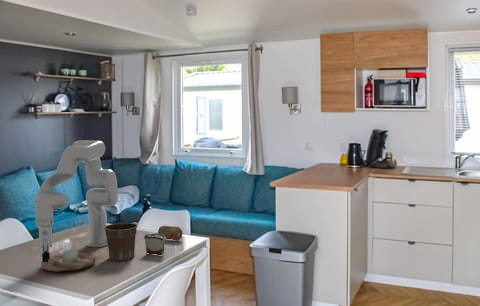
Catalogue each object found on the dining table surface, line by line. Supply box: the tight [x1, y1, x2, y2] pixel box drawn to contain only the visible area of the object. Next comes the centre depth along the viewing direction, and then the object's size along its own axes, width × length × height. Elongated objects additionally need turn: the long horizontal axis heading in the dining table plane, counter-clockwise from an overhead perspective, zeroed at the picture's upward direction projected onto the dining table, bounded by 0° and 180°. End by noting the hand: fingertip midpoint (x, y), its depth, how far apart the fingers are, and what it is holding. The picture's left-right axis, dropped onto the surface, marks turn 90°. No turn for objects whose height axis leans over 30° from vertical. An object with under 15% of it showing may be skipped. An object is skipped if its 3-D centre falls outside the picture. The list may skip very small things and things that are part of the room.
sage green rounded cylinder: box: [61, 249, 79, 263], centre depth 217 cm, size 7×7×4 cm
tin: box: [157, 225, 183, 241], centre depth 263 cm, size 15×3×8 cm, turn 67°
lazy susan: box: [41, 251, 96, 272], centre depth 218 cm, size 24×24×4 cm
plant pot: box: [104, 222, 138, 262], centre depth 231 cm, size 16×16×16 cm
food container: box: [143, 232, 166, 256], centre depth 237 cm, size 12×6×10 cm, turn 65°
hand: (46, 261), depth 213 cm, fingers closed
